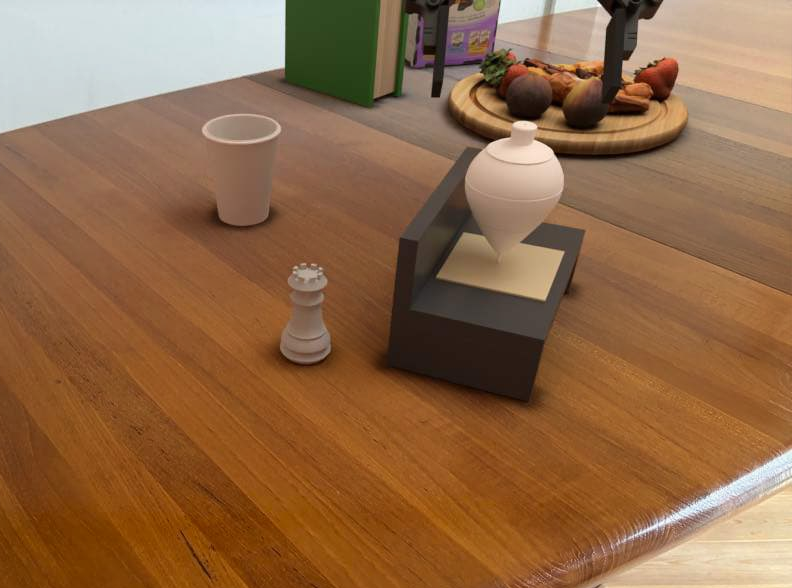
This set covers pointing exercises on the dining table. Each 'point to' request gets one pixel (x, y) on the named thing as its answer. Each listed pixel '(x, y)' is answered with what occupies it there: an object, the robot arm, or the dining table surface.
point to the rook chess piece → (306, 318)
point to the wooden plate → (571, 104)
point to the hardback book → (346, 47)
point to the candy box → (458, 34)
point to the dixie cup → (242, 165)
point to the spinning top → (513, 187)
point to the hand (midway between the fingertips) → (522, 93)
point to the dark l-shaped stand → (476, 294)
